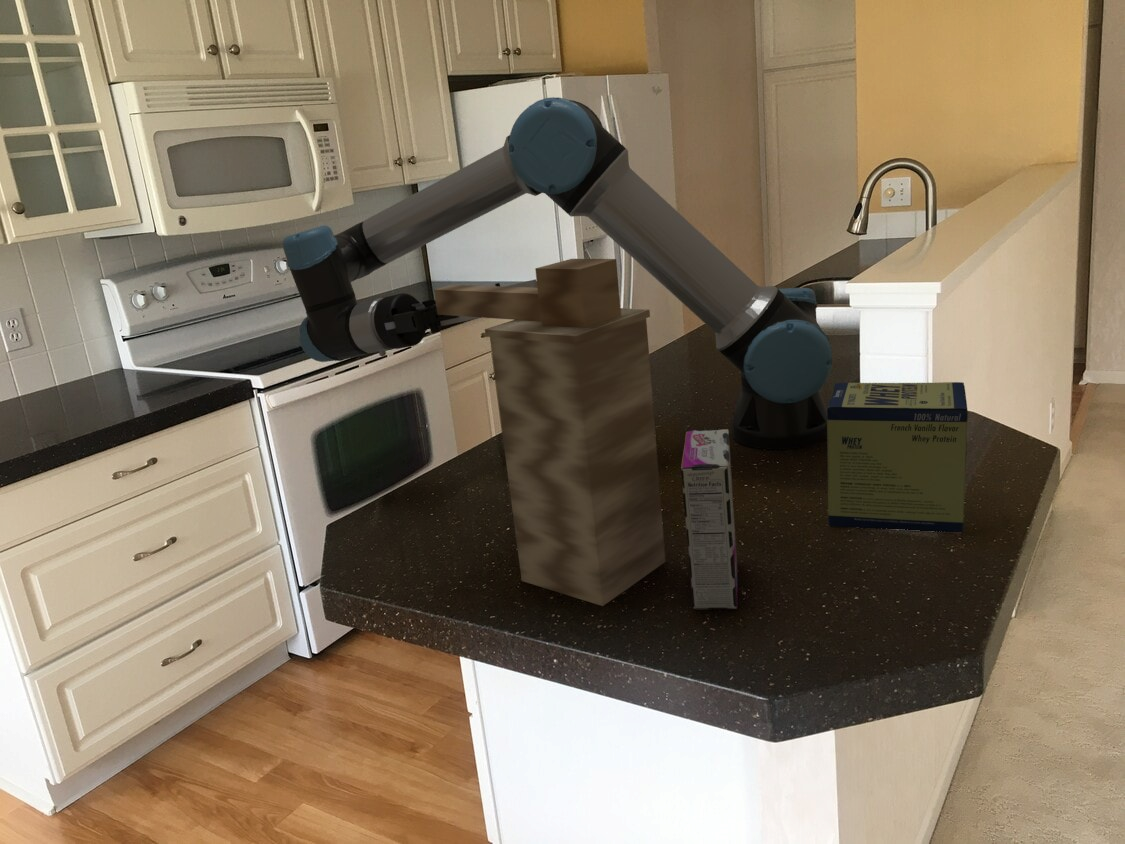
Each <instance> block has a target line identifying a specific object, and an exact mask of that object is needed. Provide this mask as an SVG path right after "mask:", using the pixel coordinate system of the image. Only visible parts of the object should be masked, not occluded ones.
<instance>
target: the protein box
mask: <svg viewBox="0 0 1125 844" xmlns="http://www.w3.org/2000/svg"><path fill="white" fill-rule="evenodd" d="M966 396H967V394H966V387H965V383H964V382H962V381H960V382H959V381H956V382H955V381H954V382H953V381H951V382H950V381H948V382H945V381H944V382H943V381H942V382H838V383H837V382H836V383H834V387H833V390H832V394H831V396H830V397H831V398H830V399H829V402H828V404H827V406H826V408H827V438H826V439H827V441H826V442H827V526H828V527H832V528H833V527H834V528H847V527H854V528H853V529H856V528H855V527H859V528H858V529H866V528H876V529H875V530H884V529H886V528H887V529H905V530H907V529H908V530H920V531H935V532H936V531H937V532H939V531H940V532H941V531H942V532H944V531H945V532H963V533H964V517H965V515H964V514H965V495H966V494H965V493H966V492H965V490H966V469H967V468H966V467H967V466H966V465H967V443H968V442H967V441H968V421H969V420H968V419H969V417H968V416H969V415H968V411H969V410H968V404H967V403H968V402H967V397H966ZM878 528H879V529H878ZM881 528H882V529H881ZM935 532H934V533H935Z"/></svg>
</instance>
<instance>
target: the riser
mask: <svg viewBox="0 0 1125 844" xmlns="http://www.w3.org/2000/svg"><path fill="white" fill-rule="evenodd" d="M620 308H621V316H619V317H616V318H613V319H610V320H607V321H605V322H602V323H599V324H596V325H593V326H591V327H588V328H576V327H561V326H547V325H542V323H541V321H527V320H512V319H511V320H509V321H506V322H504V323H500V324H497V325H494V326H490V327H488V328H485V329H484V334H485V337H487V338H489V342H490V349H491V356H492V364H493V372H494V373H493V374H494V380H495V386H496V396H497V402H498V409H499V418H500V424H501V432H502V433H501V434H502V440H503V441H502V442H503V448H504V456H505V463H506V470H507V479H508V485H509V492H510V493H509V494H510V501H511V507H512V508H511V509H512V515H513V523H514V525H513V526H514V532H515V540H516V548H517V555H518V562H519V568H520V577H521V582H523V583H527V584H531V585H533V586H536V587H540V588H543V589H547V590H549V591H554V592H557V593H559V594H562V595H566V596H569V597H572V598H575V599H579V600H581V601H585V602H589V603H591V604H593V605H598V606H601V607H604V606H605V605H606V604H608V603H610V602H611V601H612V600H614V599H615V598H616V597H618V596H619V595H621V594H622V593H624V592H625V591H627V590H628V589H629V588H631V587H632V586H634V584H637V582H639V581H640V580H642V579H644V578H645V577H646V576H647V575H649V574H650V573H652V572H653V571H655V570H656V569H657V568H659V567H660V566H661V565H664V564H665V563H666V552H665V541H664V539H665V538H664V537H665V536H664V526H663V514H662V504H661V503H662V502H661V487H660V486H661V485H660V475H659V462H658V450H657V449H658V448H657V440H656V439H657V438H656V426H655V413H654V411H655V410H654V400H653V399H654V398H653V387H652V374H651V363H650V362H651V360H650V349H649V336H648V325H647V324H648V323H647V318H651V314H650V311H651V310H650V309H649V308H648V309H647V308H645V309H643V308H626V307H625V308H624V307H620Z"/></svg>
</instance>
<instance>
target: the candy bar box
mask: <svg viewBox="0 0 1125 844" xmlns="http://www.w3.org/2000/svg"><path fill="white" fill-rule="evenodd" d="M684 435H685V436H684V446H683V452H682V457H681V458H682V459H681V465H680V466H681V467H680V473H681V481H682V494H683V497H682V498H683V506H684V517H685V528H686V540H687V554H688V564H689V576H690V589H691V600H692V602H691V603H692V609H694V610H699V611H707V610H712V609H714V610H737V609H738V558H737V556H738V555H737V541H736V540H737V539H736V528H735V527H736V526H735V513H734V512H735V510H734V497H733V480H732V466H731V465H732V463H731V462H732V461H731V448H730V431H729V429H704V430H703V429H702V430H699V429H698V430H697V429H694V430H688V431H686V432H685V434H684Z"/></svg>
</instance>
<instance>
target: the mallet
mask: <svg viewBox="0 0 1125 844" xmlns="http://www.w3.org/2000/svg"><path fill="white" fill-rule="evenodd" d="M618 276H619V275H618V263H617V258H568V259H566V260H562V261H558V262H553V263H551V264H547V265H543V266H540V267H539V266H538V267H536V268H535V277H536V281H537V288H529V287H504V286H502V285H500V286H495V285H493V286H492V285H472V284H469V285H465V284H451V285H447V286H443V287H439V288H435V289H433V293H434V300H435V301H436V308H437V314H438V315H451V316H467V317H482V318H486V319H498V320H511V321H512V320H527V321H541V323H542V325H547V326H561V327H576V328H588V327H591V326H593V325H596V324H599V323H602V322H605V321H607V320H610V319H613V318H616V317H619V316H621V308H622V307H621V300H620V298H621V297H620V286H619V277H618Z"/></svg>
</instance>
